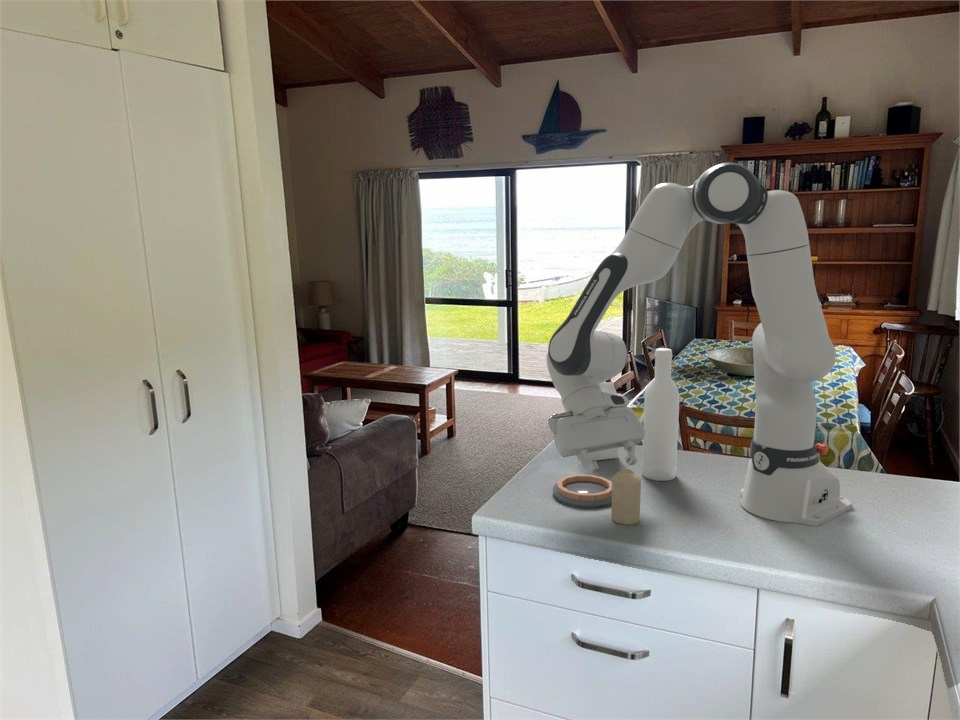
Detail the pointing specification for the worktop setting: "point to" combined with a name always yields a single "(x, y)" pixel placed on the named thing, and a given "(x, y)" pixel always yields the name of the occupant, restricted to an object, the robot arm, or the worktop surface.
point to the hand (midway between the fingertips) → (614, 467)
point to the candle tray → (583, 491)
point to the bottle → (661, 421)
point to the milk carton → (608, 453)
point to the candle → (626, 497)
